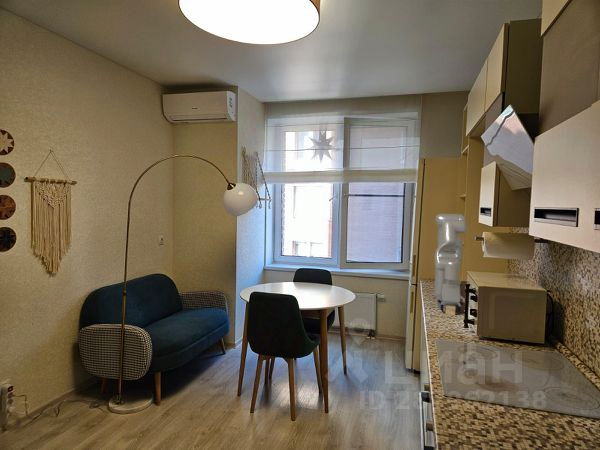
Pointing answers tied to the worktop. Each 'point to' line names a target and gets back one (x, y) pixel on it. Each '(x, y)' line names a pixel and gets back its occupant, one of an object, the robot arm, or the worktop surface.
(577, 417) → the worktop surface
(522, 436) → the worktop surface
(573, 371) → the worktop surface
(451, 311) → the oak cube
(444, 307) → the slate base block
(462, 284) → the wooden block
